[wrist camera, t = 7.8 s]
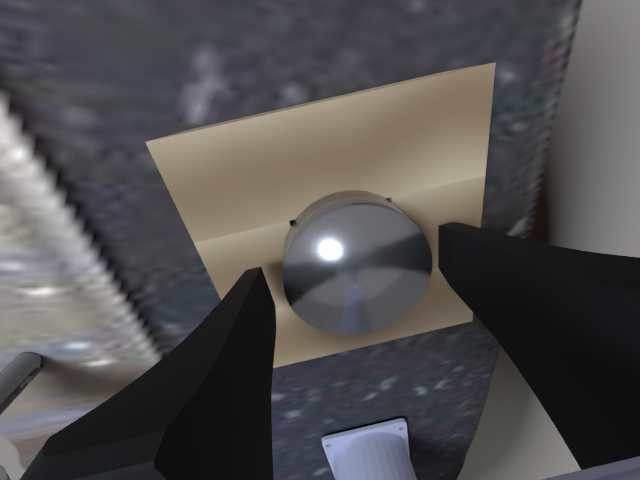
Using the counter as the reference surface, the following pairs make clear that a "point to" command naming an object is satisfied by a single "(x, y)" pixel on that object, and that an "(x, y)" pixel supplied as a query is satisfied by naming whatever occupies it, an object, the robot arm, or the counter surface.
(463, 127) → the block
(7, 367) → the mechanical component
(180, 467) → the robot arm
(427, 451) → the counter surface
